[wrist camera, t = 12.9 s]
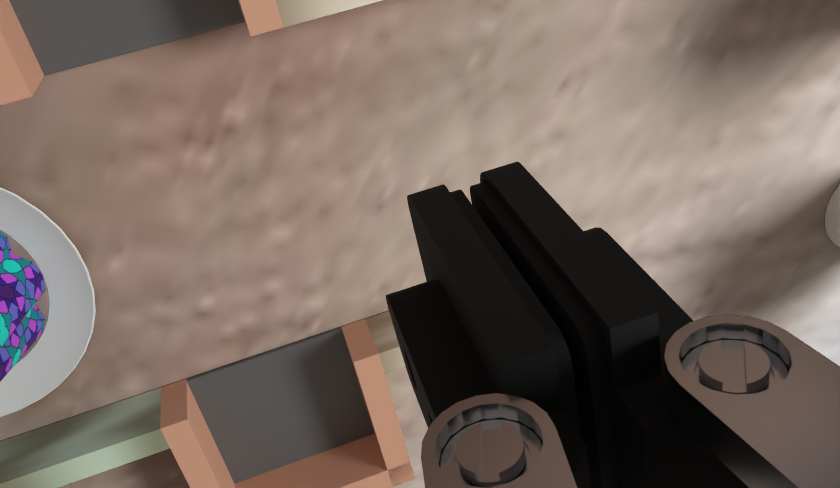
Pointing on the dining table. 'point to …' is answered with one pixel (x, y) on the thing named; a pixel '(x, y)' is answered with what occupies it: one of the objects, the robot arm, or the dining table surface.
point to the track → (140, 415)
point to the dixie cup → (833, 217)
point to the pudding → (20, 317)
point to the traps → (256, 376)
